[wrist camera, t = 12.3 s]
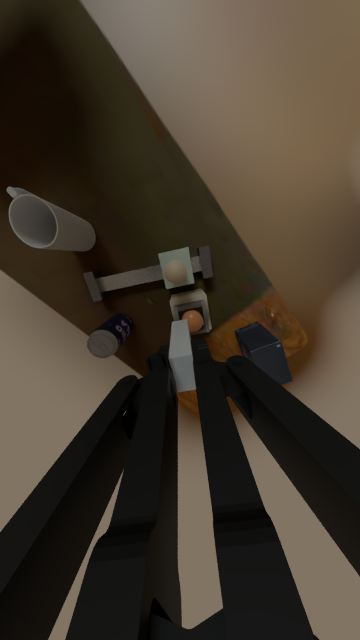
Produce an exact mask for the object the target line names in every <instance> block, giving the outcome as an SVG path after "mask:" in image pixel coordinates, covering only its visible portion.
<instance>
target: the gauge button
mask: <svg viewBox="0 0 360 640" xmlns="http://www.w3.org/2000/svg"><path fill="white" fill-rule="evenodd" d="M184 319H187V322H188V327H189V332H195V331H198V330H199V329H200V328H201V327H202V325H203V319H202V317H201V314H200V312H199V311H198V310H197V309H195V308H192V309H187V310H185V311H184V312H183V314H182V320H184Z"/></svg>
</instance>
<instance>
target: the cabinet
mask: <svg viewBox="0 0 360 640" xmlns="http://www.w3.org/2000/svg"><path fill="white" fill-rule="evenodd" d="M170 306H171V311H172V315H173V319H174V321H179V320H182V314H183V312H184V311H185V310H187V309H192V308H195V309H197V310H198V311H199V312H200V314H201V317H202V319H203V325H202V327H201V328H200V329H199V330H198V331H195V332H190V335H194V334H200V333H205V332H210V329H212V328H211V321H210V315H209V309H208V302H207V296H206V294H205V293H204V291H203V290H202V289H197V290H192V291H187V292H182V293H177V294H173V295H171V299H170Z"/></svg>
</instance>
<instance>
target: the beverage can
mask: <svg viewBox="0 0 360 640" xmlns="http://www.w3.org/2000/svg"><path fill="white" fill-rule="evenodd" d="M132 328H133V323H132V320H131V319H130V318H129V317H128V316H127V315H125V314H120V313H119V314H115V315H113V316H112V317H111V318H110V319H108V320H107V321H106V322H104V323H103V324H102V325H101V326H99V327H98V328H97V329H96V330H94V331H93V332H92V333H91V334H90V336H89V339H88V341H87V347H88V349H89V351H90V352H91V354H93V355H94V356H96V357H99V358H107V357H109V356H111V355H113V354H115V353H116V352H117V351H118V349H119V348H120V346H121V345H122V343H123V342H124V341H125V339H126V338H127V336H128V335H129V334H130V332H131V331H132Z"/></svg>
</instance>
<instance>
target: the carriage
mask: <svg viewBox="0 0 360 640" xmlns="http://www.w3.org/2000/svg"><path fill="white" fill-rule="evenodd" d="M158 256H159V260H160V265H161V269H162V273H163V278H164V282H165V286H166V289H169V288H174V287H179V286H184V285H189V284H193V283H194V277H193V272H192V266H191V260H190V255H189V249H188V247H186V248H182V249H178V250H173V251H169V252H164V253H160V254H158Z"/></svg>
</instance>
